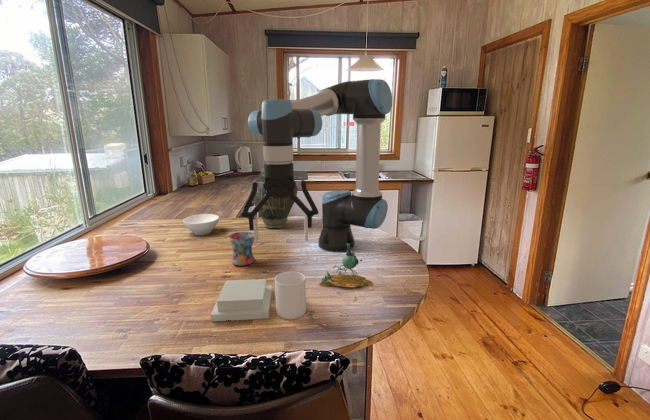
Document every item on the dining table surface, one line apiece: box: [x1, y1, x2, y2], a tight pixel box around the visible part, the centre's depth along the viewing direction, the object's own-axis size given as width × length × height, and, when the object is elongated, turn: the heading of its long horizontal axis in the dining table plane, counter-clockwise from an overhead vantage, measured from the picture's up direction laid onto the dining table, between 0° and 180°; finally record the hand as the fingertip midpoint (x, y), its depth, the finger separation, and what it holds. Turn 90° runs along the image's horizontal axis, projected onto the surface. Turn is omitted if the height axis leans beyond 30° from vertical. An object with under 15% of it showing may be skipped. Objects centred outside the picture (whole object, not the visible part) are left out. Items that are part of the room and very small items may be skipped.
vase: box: [250, 166, 298, 229], centre depth 166 cm, size 22×22×30 cm
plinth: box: [210, 278, 273, 322], centre depth 97 cm, size 15×15×5 cm
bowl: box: [182, 213, 220, 236], centre depth 160 cm, size 16×16×7 cm
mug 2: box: [274, 270, 307, 320], centre depth 95 cm, size 12×8×10 cm
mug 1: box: [227, 231, 256, 267], centre depth 127 cm, size 12×9×11 cm
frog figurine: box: [318, 243, 374, 288], centre depth 109 cm, size 10×18×15 cm, turn 84°
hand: (281, 240), depth 93 cm, fingers open, 13 cm apart
